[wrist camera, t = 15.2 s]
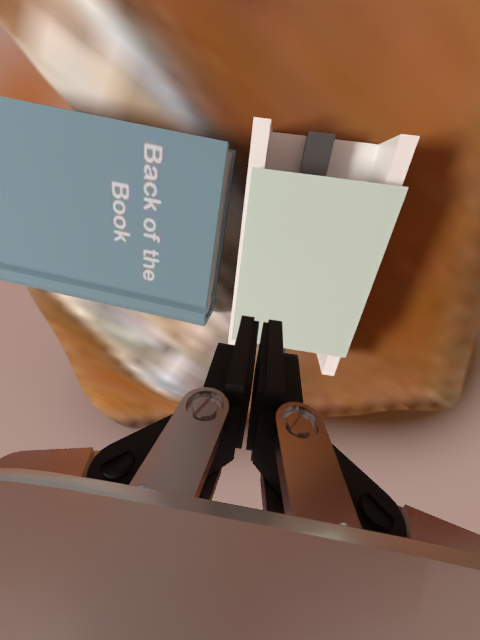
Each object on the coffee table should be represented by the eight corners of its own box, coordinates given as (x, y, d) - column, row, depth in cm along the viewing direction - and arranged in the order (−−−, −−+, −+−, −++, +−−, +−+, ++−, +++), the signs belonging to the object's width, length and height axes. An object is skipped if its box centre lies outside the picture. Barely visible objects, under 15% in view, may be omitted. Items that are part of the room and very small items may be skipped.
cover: (253, 168, 19) (252, 167, 18) (402, 187, 18) (408, 187, 17) (232, 334, 25) (231, 339, 24) (342, 351, 25) (345, 357, 24)
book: (236, 151, 23) (227, 141, 19) (213, 310, 31) (202, 330, 26) (-1, 103, 24) (-64, 83, 20) (32, 269, 31) (-9, 282, 27)
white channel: (258, 132, 22) (253, 117, 18) (390, 147, 21) (419, 136, 17) (233, 333, 31) (226, 357, 27) (325, 349, 30) (333, 375, 26)
